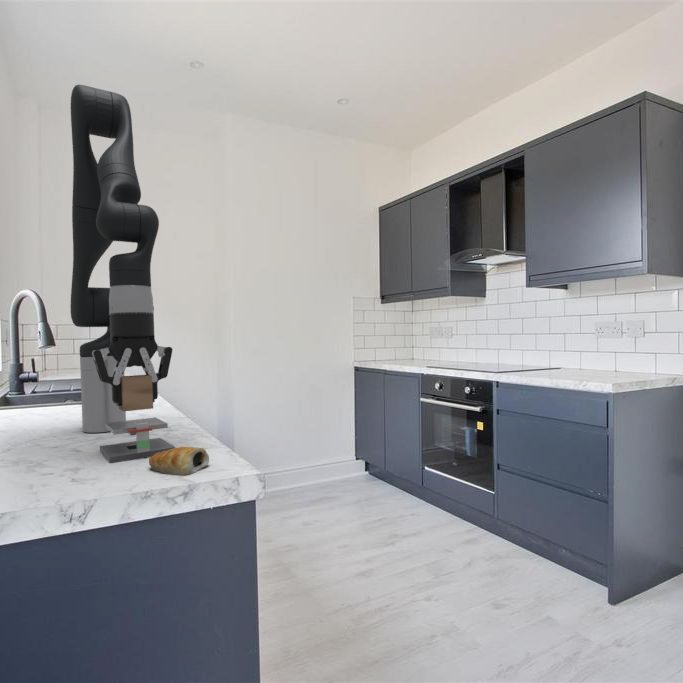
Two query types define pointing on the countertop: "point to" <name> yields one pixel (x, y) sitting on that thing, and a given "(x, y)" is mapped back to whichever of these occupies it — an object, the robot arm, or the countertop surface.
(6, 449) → the countertop surface
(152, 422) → the pan
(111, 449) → the base
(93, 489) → the countertop surface
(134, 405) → the walnut block
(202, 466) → the pastry
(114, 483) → the countertop surface
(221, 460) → the countertop surface
